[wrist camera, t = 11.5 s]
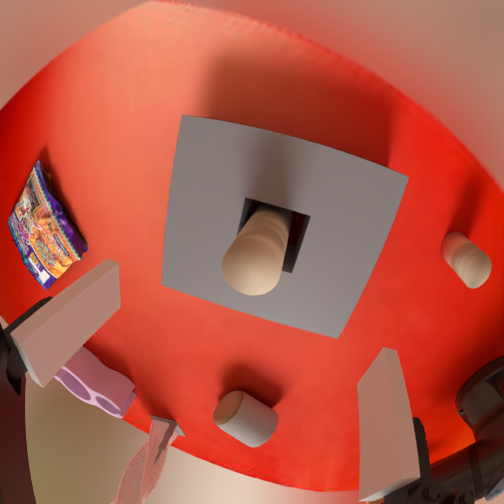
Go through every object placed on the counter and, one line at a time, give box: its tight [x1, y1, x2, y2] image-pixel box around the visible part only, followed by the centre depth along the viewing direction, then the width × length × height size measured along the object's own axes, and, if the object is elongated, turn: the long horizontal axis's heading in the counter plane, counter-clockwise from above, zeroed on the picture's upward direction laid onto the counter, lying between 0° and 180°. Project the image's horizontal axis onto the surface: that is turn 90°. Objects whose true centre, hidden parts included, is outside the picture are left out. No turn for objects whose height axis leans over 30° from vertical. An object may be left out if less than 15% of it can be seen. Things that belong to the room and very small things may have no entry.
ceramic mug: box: [213, 390, 278, 447], centre depth 38 cm, size 11×8×8 cm
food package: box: [8, 159, 88, 290], centre depth 35 cm, size 22×25×4 cm
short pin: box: [441, 232, 491, 288], centre depth 21 cm, size 4×4×6 cm
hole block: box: [161, 115, 409, 339], centre depth 24 cm, size 18×16×6 cm
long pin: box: [222, 202, 293, 295], centre depth 22 cm, size 4×4×12 cm
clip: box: [54, 346, 137, 418], centre depth 46 cm, size 20×12×7 cm, turn 76°
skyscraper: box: [111, 415, 186, 504], centre depth 40 cm, size 8×8×28 cm
